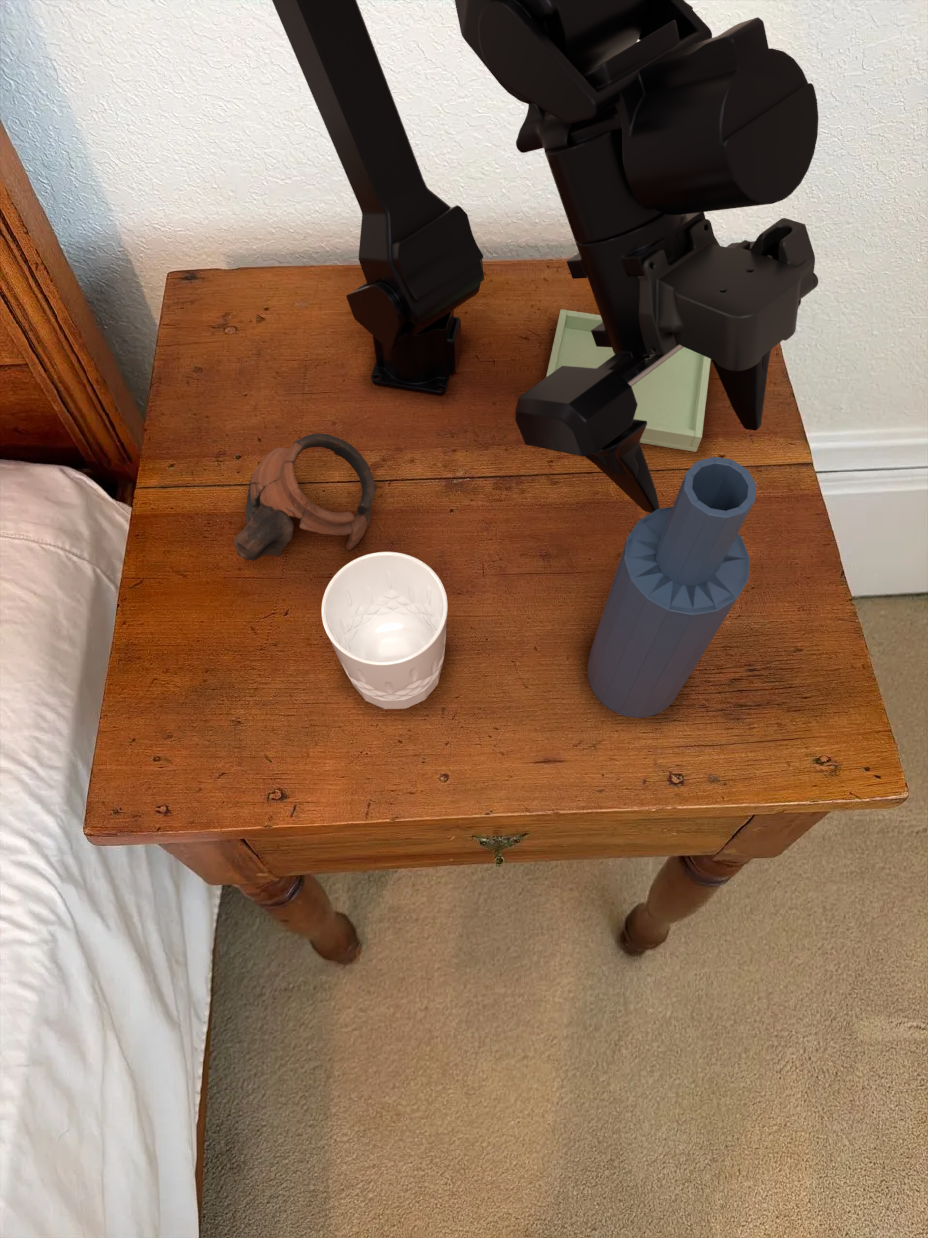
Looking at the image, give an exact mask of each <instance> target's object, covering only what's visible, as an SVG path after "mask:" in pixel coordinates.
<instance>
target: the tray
mask: <svg viewBox="0 0 928 1238" xmlns="http://www.w3.org/2000/svg"><path fill="white" fill-rule="evenodd" d="M559 310H560V311H559V315H558V320H557V324H556V329H555V334H554V337H553V338H554V339H553V343H552V347H551V348H552V349H551V353H550V357H549V361H548V365H547V371H546V376H545V378H546V377H547V376H549V375H550V374H551V373H553V372H554V371H556V370H557V369H558V368H560V367H561V366H573V367H585V368H598V367H599V366H600V365H602V364H603V363H604V362H606V361H607V360H608V359H610V358H611V357H613V356H614V355H615V354H614V352H613V349H612V347H596V344H595V341H594V338H593V335H592V332H591V330H592V329H594V328H595V327H597V326H598V325H599V324H601V323H602V322H603V321H602V318H601V315H600V314H597V313H590V312H583V311H576V310H569V309H564V308H560V309H559ZM711 362H712V360H711V359H710V358H708V357H705V356H703V355H701V354H699V353H696V352H694V351H692V350H690V349H687V348H685V347H683V348H682V349H680V350H679V351H678V352H677V353H675V354H674V355H673V356H671V357H670V358H669V359H667V360H666V361H665V362H663V363H662V364H661V365H659V366H658V367H657V368H655V369H654V370H653V371H651V372H650V373H649V374H647V375H646V376H645V377H644V378H642V379H641V380H640V381H638V382H637V383H636V384H634V385H633V386H632V390H633V392H634V395H635V398H636V401H637V404H638V405H637V409H636V412H635V416H634V419H637V420H643V421H647V426H646V428H645V430H644V432H643V434H642V437H641V439H640V444H645V445H651V446H657V447H663V448H668V449H669V448H670V449H675V450H680V451H682V450H683V451H688V452H692V453H693V452H694V453H697V451H698V449H699V446H700V443H701V441H702V438H703V431H704V423H705V413H706V405H707V397H708V388H709V379H710V370H711Z"/></svg>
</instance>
